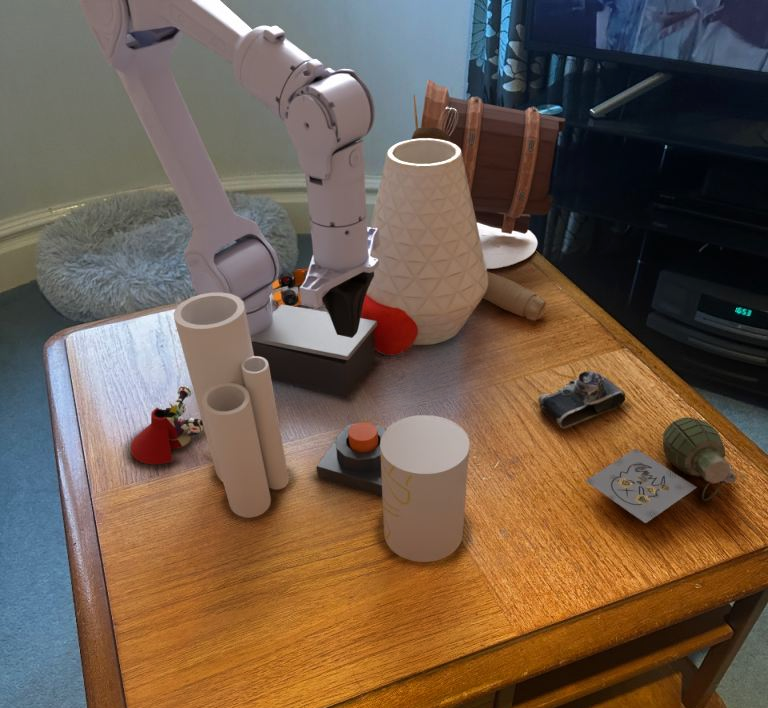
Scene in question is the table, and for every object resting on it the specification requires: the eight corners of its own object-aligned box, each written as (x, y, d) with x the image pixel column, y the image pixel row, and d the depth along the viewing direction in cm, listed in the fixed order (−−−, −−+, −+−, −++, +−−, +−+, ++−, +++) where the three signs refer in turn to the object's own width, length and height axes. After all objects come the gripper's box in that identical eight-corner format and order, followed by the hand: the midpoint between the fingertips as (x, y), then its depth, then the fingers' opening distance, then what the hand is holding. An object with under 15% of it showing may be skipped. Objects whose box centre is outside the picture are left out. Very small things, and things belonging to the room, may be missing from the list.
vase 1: (208, 458, 83) (165, 303, 69) (268, 440, 85) (238, 285, 71) (237, 523, 76) (195, 364, 61) (301, 501, 78) (275, 342, 63)
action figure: (228, 441, 85) (219, 404, 81) (151, 479, 81) (137, 442, 77) (192, 405, 90) (182, 368, 86) (117, 438, 86) (103, 402, 82)
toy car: (304, 248, 111) (310, 267, 113) (255, 291, 105) (262, 310, 108) (367, 260, 105) (371, 280, 108) (319, 306, 100) (324, 326, 102)
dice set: (638, 460, 78) (635, 473, 79) (606, 481, 76) (603, 494, 77) (677, 485, 75) (673, 498, 76) (644, 507, 73) (641, 520, 74)
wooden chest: (407, 264, 115) (531, 279, 115) (417, 148, 94) (569, 166, 94) (419, 175, 122) (537, 189, 121) (431, 48, 100) (574, 64, 100)
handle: (526, 318, 98) (438, 275, 103) (536, 333, 103) (452, 291, 109) (545, 287, 97) (456, 245, 103) (554, 303, 103) (469, 263, 108)
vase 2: (406, 281, 110) (405, 116, 93) (507, 314, 102) (525, 142, 86) (335, 333, 100) (320, 161, 84) (441, 374, 93) (447, 194, 76)
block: (317, 477, 80) (314, 453, 78) (349, 434, 85) (347, 411, 83) (382, 496, 78) (381, 473, 75) (411, 451, 83) (411, 428, 80)
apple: (384, 321, 102) (382, 270, 97) (436, 340, 99) (437, 288, 93) (345, 351, 98) (341, 299, 92) (399, 372, 94) (398, 319, 88)
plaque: (396, 227, 122) (396, 218, 121) (502, 209, 127) (503, 200, 126) (443, 284, 110) (444, 275, 109) (559, 262, 114) (560, 252, 113)
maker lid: (377, 325, 91) (377, 320, 90) (348, 360, 86) (347, 356, 85) (282, 308, 96) (281, 304, 95) (248, 341, 90) (247, 336, 90)
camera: (531, 409, 88) (536, 380, 85) (599, 383, 91) (605, 355, 88) (557, 432, 84) (562, 403, 81) (626, 405, 88) (634, 376, 85)
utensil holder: (444, 180, 92) (461, 89, 92) (396, 174, 93) (412, 83, 93) (445, 201, 98) (460, 115, 98) (400, 195, 99) (415, 110, 99)
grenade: (688, 470, 84) (728, 515, 76) (638, 446, 82) (674, 490, 74) (724, 425, 81) (770, 467, 73) (674, 399, 79) (715, 439, 71)
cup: (380, 506, 77) (376, 418, 68) (456, 500, 77) (461, 412, 69) (387, 565, 71) (384, 477, 63) (468, 558, 72) (476, 470, 63)
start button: (344, 448, 79) (343, 436, 78) (357, 431, 81) (356, 419, 80) (370, 456, 78) (369, 443, 77) (382, 438, 80) (382, 426, 79)
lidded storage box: (375, 363, 95) (373, 328, 92) (346, 399, 90) (343, 364, 86) (287, 342, 99) (282, 308, 96) (255, 375, 94) (248, 341, 90)
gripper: (340, 253, 66) (350, 376, 76) (403, 192, 75) (404, 308, 85) (274, 241, 68) (292, 361, 78) (343, 182, 77) (351, 297, 87)
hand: (347, 333), depth 82 cm, fingers closed
